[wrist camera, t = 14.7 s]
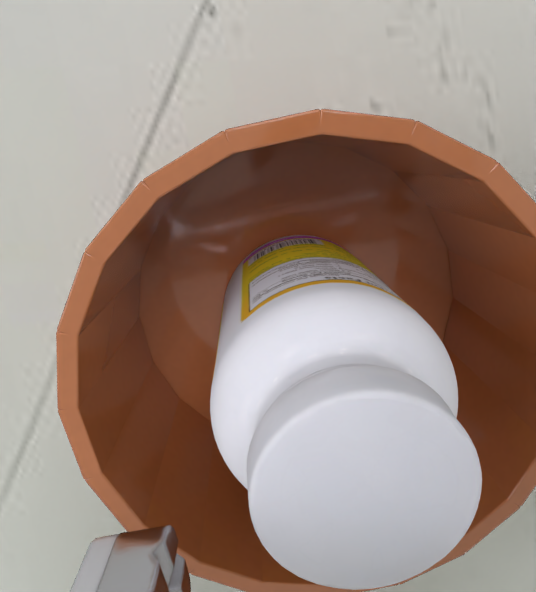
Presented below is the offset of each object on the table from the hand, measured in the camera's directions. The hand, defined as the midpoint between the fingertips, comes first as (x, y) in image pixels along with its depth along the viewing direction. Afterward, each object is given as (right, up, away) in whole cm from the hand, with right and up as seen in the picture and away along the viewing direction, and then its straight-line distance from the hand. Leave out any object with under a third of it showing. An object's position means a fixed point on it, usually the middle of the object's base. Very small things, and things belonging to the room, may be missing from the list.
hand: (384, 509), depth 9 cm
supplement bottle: (-1, +4, +13) cm, 13 cm away
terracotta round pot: (-1, +4, +13) cm, 14 cm away
